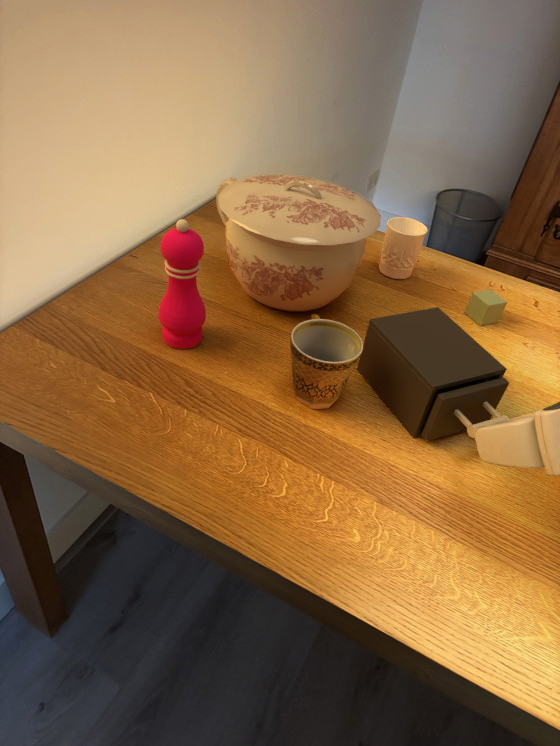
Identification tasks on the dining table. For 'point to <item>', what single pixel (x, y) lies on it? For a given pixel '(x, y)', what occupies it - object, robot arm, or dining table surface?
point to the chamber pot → (294, 237)
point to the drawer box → (420, 362)
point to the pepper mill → (182, 288)
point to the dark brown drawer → (464, 408)
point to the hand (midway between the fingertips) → (507, 425)
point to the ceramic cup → (322, 360)
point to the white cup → (401, 247)
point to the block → (485, 307)
